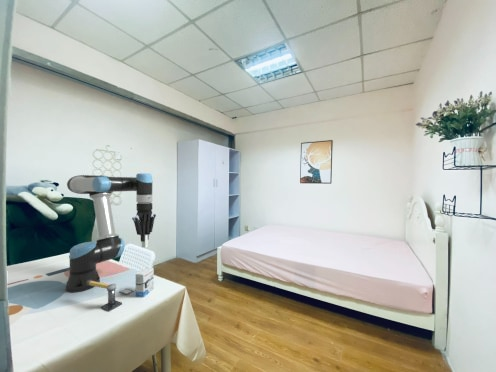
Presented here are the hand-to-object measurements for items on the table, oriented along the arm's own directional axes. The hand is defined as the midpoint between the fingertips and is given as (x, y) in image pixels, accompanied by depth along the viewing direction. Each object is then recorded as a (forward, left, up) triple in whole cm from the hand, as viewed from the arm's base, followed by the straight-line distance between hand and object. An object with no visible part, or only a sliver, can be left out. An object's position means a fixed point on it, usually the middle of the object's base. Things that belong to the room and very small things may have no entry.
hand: (144, 246), depth 109 cm
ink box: (0, 0, -25) cm, 25 cm away
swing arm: (-11, -16, -16) cm, 25 cm away
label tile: (-9, -4, -24) cm, 26 cm away
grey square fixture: (-4, -15, -24) cm, 29 cm away
